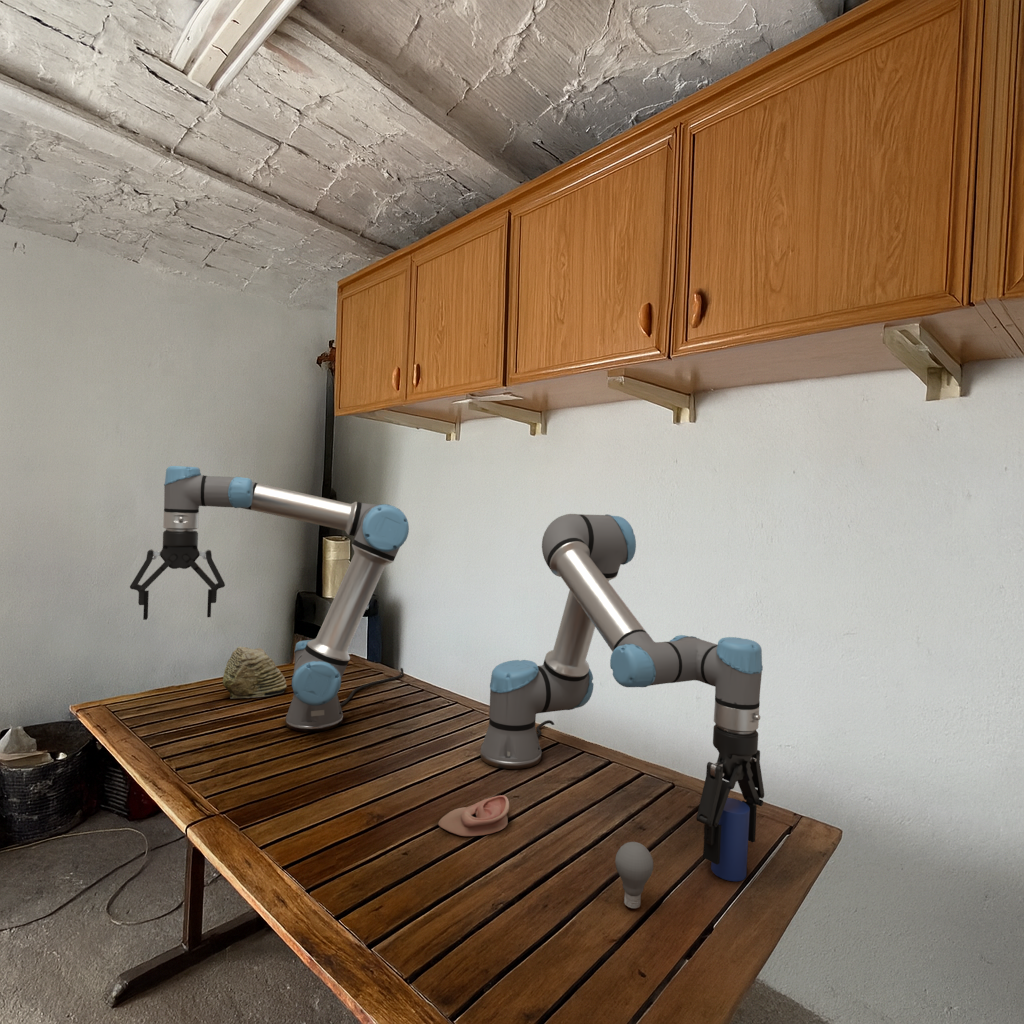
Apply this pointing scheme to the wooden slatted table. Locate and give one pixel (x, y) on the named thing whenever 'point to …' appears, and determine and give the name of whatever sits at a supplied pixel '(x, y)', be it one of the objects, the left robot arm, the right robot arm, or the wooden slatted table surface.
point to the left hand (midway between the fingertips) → (177, 617)
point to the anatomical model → (478, 817)
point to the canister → (733, 841)
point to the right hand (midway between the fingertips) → (729, 849)
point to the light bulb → (633, 871)
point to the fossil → (252, 674)
